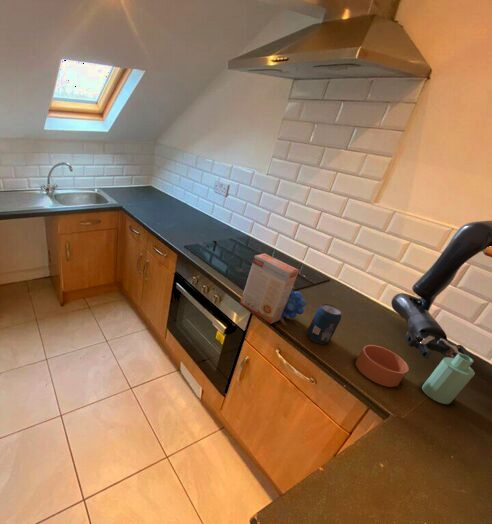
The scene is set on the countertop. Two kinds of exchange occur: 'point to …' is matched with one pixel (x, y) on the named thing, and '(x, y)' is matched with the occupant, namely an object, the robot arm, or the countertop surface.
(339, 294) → the countertop surface
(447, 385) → the bottle
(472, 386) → the countertop surface
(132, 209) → the countertop surface
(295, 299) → the grapes
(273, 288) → the cracker box
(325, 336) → the soda can
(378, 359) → the terracotta bowl
